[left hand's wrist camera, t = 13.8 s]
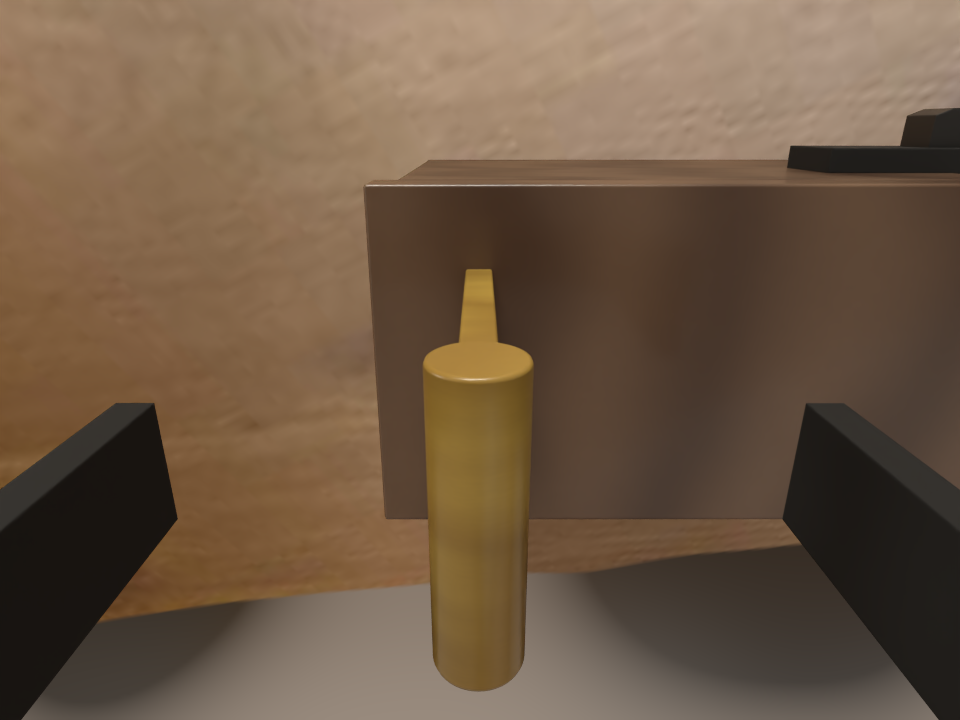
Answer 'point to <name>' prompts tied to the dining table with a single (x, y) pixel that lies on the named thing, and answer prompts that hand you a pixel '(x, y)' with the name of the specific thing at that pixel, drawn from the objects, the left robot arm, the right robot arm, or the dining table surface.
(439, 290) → the lid
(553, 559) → the dining table surface
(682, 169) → the chest
